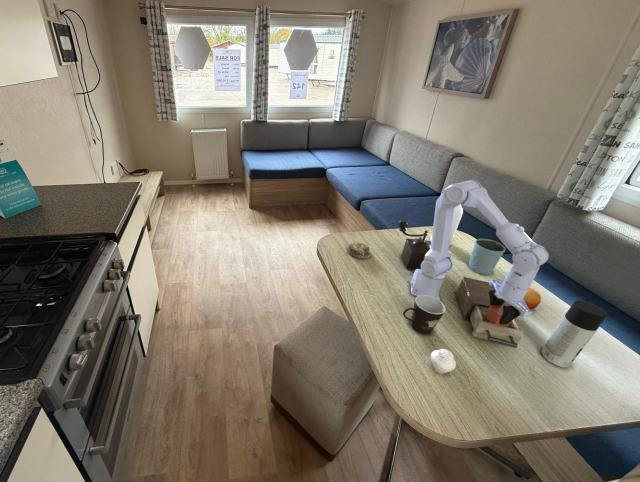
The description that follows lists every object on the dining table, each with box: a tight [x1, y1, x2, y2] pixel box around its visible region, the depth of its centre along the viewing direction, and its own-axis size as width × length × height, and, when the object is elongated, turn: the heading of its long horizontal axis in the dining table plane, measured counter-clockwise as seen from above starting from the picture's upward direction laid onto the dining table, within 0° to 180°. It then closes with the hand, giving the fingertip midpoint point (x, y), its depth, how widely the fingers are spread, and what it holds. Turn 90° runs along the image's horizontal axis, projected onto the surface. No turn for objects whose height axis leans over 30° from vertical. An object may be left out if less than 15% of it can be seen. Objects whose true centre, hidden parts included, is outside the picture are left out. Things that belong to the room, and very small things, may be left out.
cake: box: [347, 241, 372, 259], centre depth 138 cm, size 10×10×5 cm
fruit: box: [523, 287, 542, 311], centre depth 110 cm, size 8×8×8 cm
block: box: [485, 305, 510, 327], centre depth 96 cm, size 4×4×4 cm
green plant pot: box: [468, 238, 506, 276], centre depth 128 cm, size 10×10×12 cm
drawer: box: [469, 305, 525, 349], centre depth 98 cm, size 18×11×6 cm, turn 159°
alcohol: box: [430, 203, 464, 247], centre depth 142 cm, size 9×9×30 cm
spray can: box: [541, 299, 608, 368], centre depth 87 cm, size 7×7×20 cm
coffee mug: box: [402, 295, 447, 336], centre depth 99 cm, size 12×9×10 cm
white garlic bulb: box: [430, 348, 457, 374], centre depth 86 cm, size 6×6×7 cm
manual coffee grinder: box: [397, 219, 431, 271], centre depth 129 cm, size 16×11×18 cm
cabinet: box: [456, 276, 511, 322], centre depth 107 cm, size 15×13×8 cm
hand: (497, 317), depth 96 cm, fingers closed on block, 4 cm apart
